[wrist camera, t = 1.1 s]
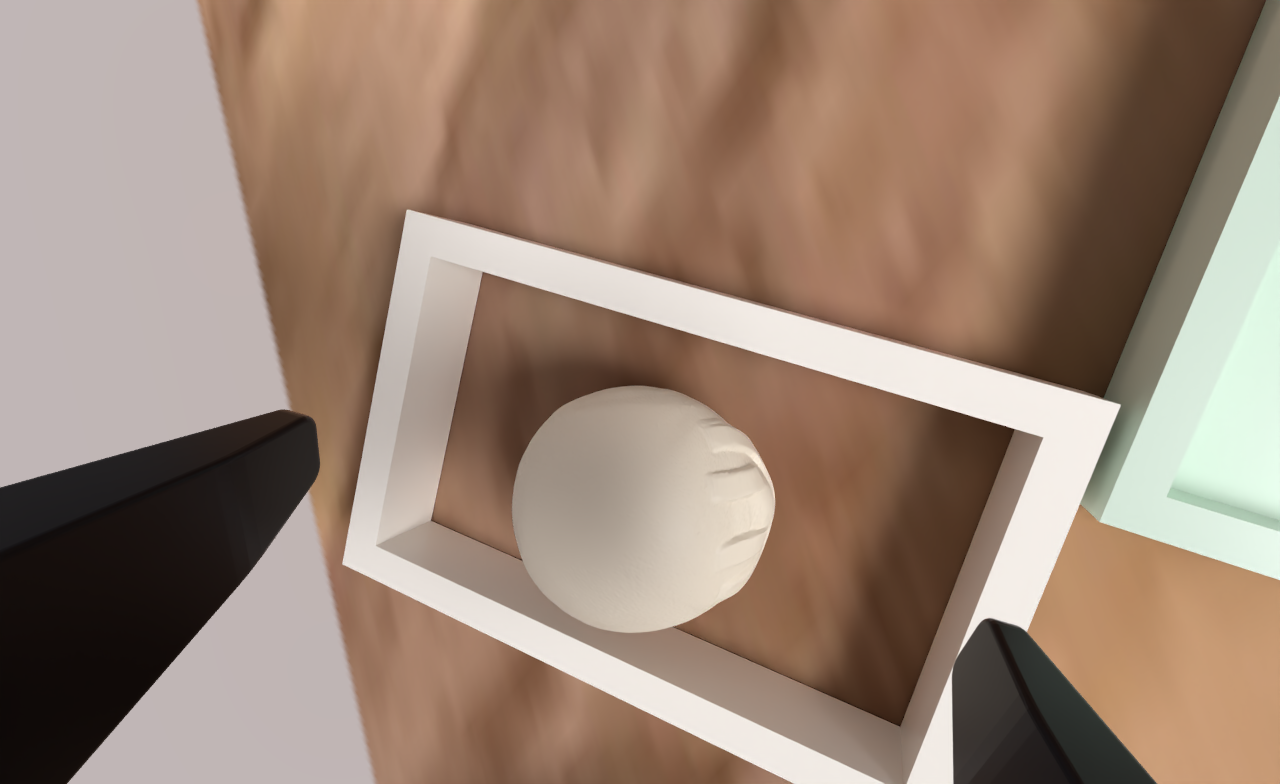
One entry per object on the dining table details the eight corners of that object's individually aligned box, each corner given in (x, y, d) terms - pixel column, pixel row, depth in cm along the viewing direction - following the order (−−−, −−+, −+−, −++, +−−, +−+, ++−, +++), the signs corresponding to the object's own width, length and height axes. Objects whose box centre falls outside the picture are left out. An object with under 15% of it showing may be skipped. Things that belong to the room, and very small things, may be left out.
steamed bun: (797, 581, 21) (761, 693, 15) (587, 573, 24) (480, 665, 17) (781, 368, 21) (738, 390, 14) (567, 383, 23) (451, 407, 17)
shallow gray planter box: (927, 778, 20) (935, 852, 17) (400, 537, 26) (342, 564, 23) (1083, 390, 18) (1121, 404, 15) (462, 222, 24) (406, 209, 21)
